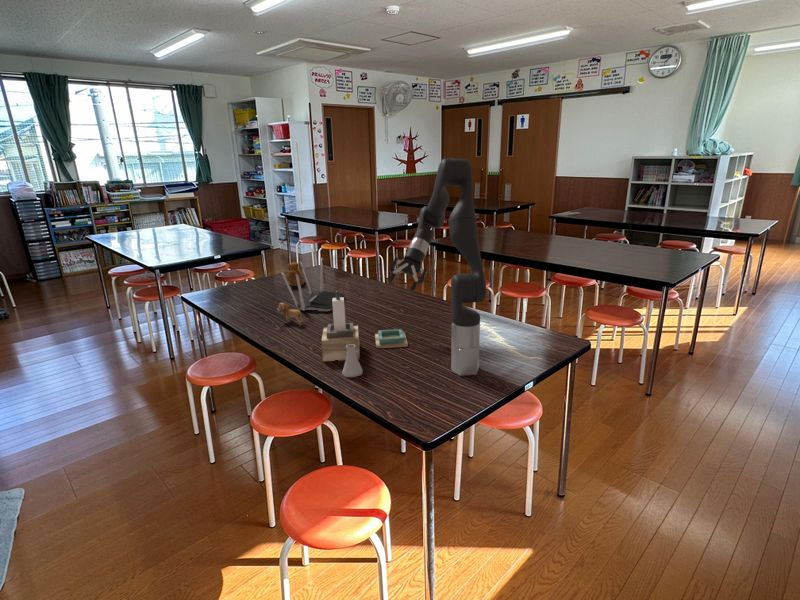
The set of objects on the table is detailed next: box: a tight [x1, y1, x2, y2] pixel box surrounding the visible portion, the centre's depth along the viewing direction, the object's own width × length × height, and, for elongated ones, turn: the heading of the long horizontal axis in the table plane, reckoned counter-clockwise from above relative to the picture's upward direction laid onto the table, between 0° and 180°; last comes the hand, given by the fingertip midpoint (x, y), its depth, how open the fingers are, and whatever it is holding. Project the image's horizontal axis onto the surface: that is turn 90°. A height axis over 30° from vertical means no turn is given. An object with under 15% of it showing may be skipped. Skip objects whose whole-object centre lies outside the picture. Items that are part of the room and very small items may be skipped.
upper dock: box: [321, 322, 361, 362], centre depth 166 cm, size 13×13×10 cm
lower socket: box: [374, 328, 409, 349], centre depth 176 cm, size 12×12×3 cm
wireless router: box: [280, 257, 346, 312], centre depth 220 cm, size 34×23×20 cm
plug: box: [332, 290, 347, 332], centre depth 162 cm, size 4×4×16 cm
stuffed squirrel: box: [284, 261, 306, 287], centre depth 255 cm, size 10×14×13 cm
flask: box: [341, 344, 364, 378], centre depth 150 cm, size 7×7×10 cm
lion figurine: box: [276, 302, 308, 325], centre depth 197 cm, size 15×5×9 cm, turn 66°
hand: (401, 287), depth 176 cm, fingers open, 8 cm apart
